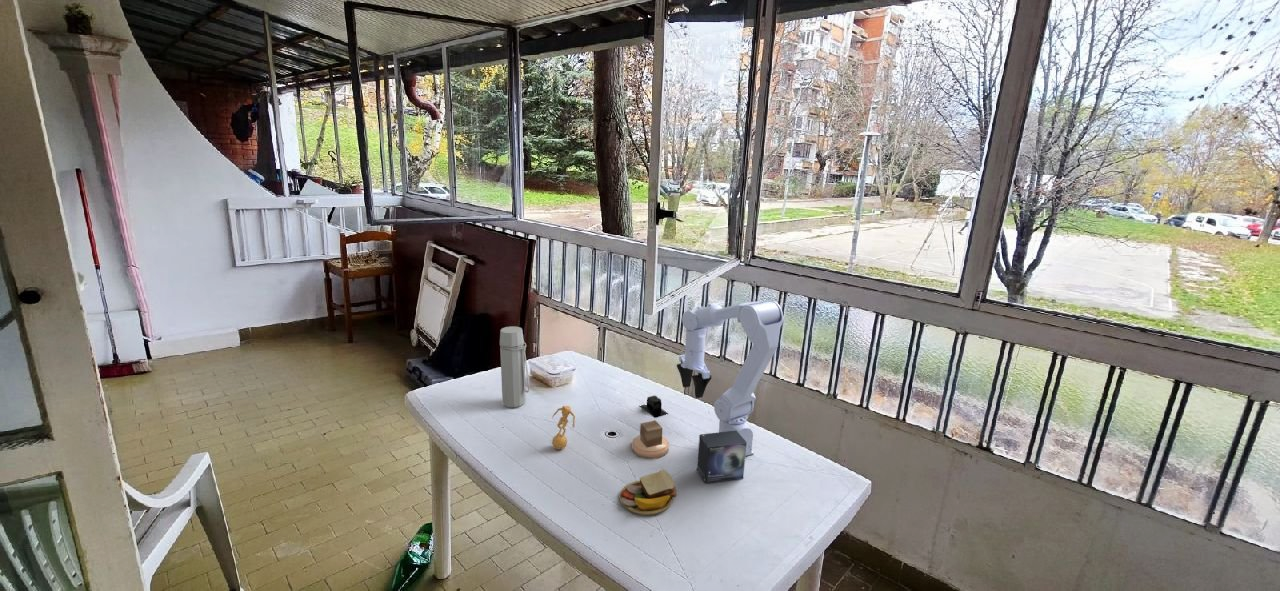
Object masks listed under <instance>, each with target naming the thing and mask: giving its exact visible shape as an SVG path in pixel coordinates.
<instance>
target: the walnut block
mask: <svg viewBox="0 0 1280 591" xmlns="http://www.w3.org/2000/svg"><path fill="white" fill-rule="evenodd" d="M639 427H640V430H639V431H640V432H639V435H640V440H641V441H642V442H643V444H644V445H645V446H646V447H647V448H648V447H652V446H657V445H661V444H662V436H663V429H664V428H663V426H662V425H660V423H659V422H657V420H651V421H645V422H640V426H639Z"/></svg>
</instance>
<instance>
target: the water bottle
mask: <svg viewBox="0 0 1280 591" xmlns="http://www.w3.org/2000/svg"><path fill="white" fill-rule="evenodd" d="M499 331H500V332H499V333H500V334H499V346H500V348H499V350H500V351H499V352H500V373H501V398H502V404H503V406H504V407H507V408H509V409H510V408H511V409H512V408H513V409H515V408H520V407H522V406H524V405H525V403H526V402H527V401H526V393H529V392H530V389H531V388H530V386H531V384H530V377H529V370H528V364H527V356H526V350H527V349H526V348H527V343H526V342H525V340H524V334H523V332H524V331H523V328H522V327H519V326H505V327H502V328H501V329H500V330H499ZM526 377H527V389H526Z"/></svg>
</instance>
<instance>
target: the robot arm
mask: <svg viewBox="0 0 1280 591" xmlns="http://www.w3.org/2000/svg"><path fill="white" fill-rule="evenodd" d="M731 319H736V321H737V323H740V325H741V327H742V329H743V331H744V332H745V335H746V336H747V339H748V340H749V342H751V343H752V346H751V349H750V351H749V352H748V354H747V356H746V359H745V361H744V362H743V364H742V366H741V368H740V369H739V372H738V373H737V376H736V377H735V380H734V382H733V383H732V386H731V387H729V388H728V389H727V390H726V391H725V392H723V393H722V394H721V396H720V397H719V398H717V399H716V400H715V401H714V405H713V406H714V407H713V409H714V413H715V415H716V417H717V419H718V421H719V423H718V424H719V425H718V426H719V427H718V432H727V431H736V430H737V432H738V433H739V434H740V435H741V436H742V437H743V439H744V440H745V441H746V442H747V445H746V454H745V457H746V456H750V455H754V454H755V452H754V451H753V449H752V448H753V440H754V433H753V430H752V429H751V428H750V426H749V425H748V422H747V420H748V418H749V414H751V413H752V412H753V411H754V408H755V407H754V406H755V404H754V403H755V401H756V399H757V397H756V396H755V395H756V394H755V393H754V391H755V390H756V387H757V386H758V384H759V382H760V380H761V378H762V376H763V375H764V373H765V371H766V369H767V367H768V365H769V363H770V362H771V360H772V358H773V357H774V354H775V352H776V351H777V349H778V346H779V339H780V332H781V331H780V330H781V327H782V325H783V324H784V321H785V317H784V313H783V309H782V307H781V306H780V304H779V303H778V302H777V301H775V300H767V301H766V302H765V301H764V300H763V301H762V300H761V301H760V300H759V301H749V302H748V301H747V302H743V303H738V304H734V305H729V306H725V307H722V306H721V305H719V304H715V302H714V303H708V304H707V306H698V307H697V308H696V309H688V310H687V311H684V312H683V314H682V318H681V320H682V325H683V327H684V328H685V340H684V344H685V345H684V354H679V357H678V360H679V361H678V362H679V363H677V364H676V368H677V371H678V372H679V376H680V380H681V384H682V387H683V388H689V387H691V385H692V384H691V382H692V381H693V384H694V385H693V386H694V396H695V398H696V399H700V398H703V396H704V394H705V391H706V389H707V385H708V384H709V383H710V381H711V380H712V375H711V371H710V370H709V368H708V367H707V365H706V363H705V351H706V350H705V347H706V334H707V333H708V329H709V328H711V327H718V326H721V325H723V324H724V323H725V321H726V320H731ZM693 372H696V373H697V374H695V375H693Z"/></svg>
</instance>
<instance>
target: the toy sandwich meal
mask: <svg viewBox="0 0 1280 591" xmlns="http://www.w3.org/2000/svg"><path fill="white" fill-rule="evenodd" d="M676 497H677V489H676V485H675V481H674V479H673V477H672V476H671V475H670V473H668V472H667V471H666V470H663V469H661V470H659V471H656V472H653V473H650V474H647V475H644V476H641V477H639V480H636V481H632V482H629V483H628V484H627V485H624V486H623V487H622V489H621V490H620V492H619V500H620V503H621V504H622V505H623V507H625V508H626V509H627V510H628V511H630V512H632V513H634V514H638V515H644V516H645V515H646V516H651V515H657V514H659V513H661V512H663V511H665V510H667V509H668V508H669V507H670V506H671V505H672V503H673V500H674V498H676Z"/></svg>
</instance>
